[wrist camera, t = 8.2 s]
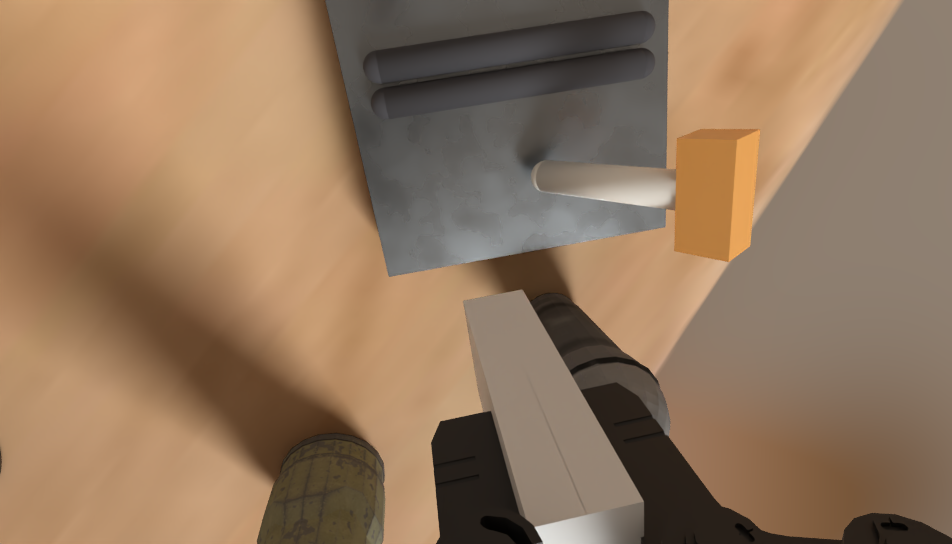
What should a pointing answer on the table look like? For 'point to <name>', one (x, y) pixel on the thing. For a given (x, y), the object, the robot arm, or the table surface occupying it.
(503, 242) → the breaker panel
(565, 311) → the beverage cup
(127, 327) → the table surface
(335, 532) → the thermos
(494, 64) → the cord bundle
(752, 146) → the orange mallet
